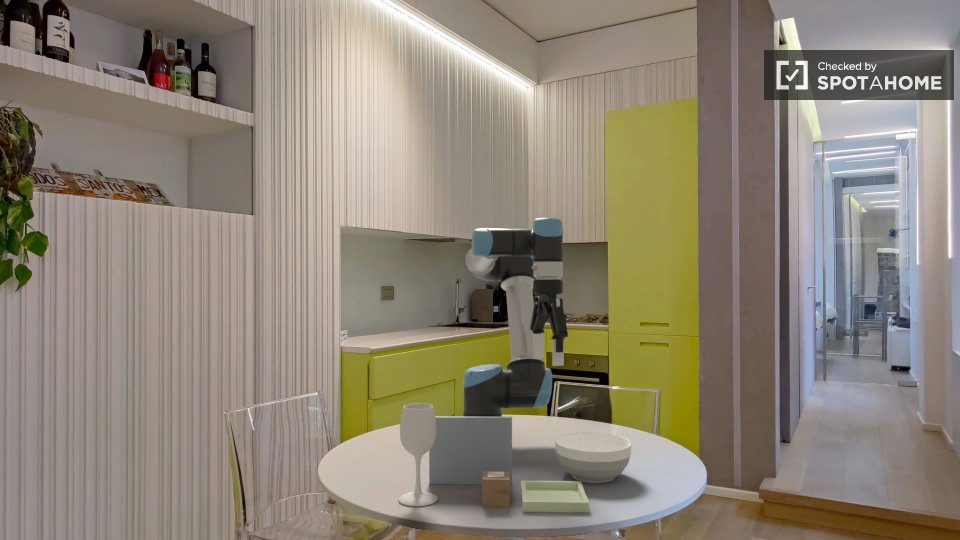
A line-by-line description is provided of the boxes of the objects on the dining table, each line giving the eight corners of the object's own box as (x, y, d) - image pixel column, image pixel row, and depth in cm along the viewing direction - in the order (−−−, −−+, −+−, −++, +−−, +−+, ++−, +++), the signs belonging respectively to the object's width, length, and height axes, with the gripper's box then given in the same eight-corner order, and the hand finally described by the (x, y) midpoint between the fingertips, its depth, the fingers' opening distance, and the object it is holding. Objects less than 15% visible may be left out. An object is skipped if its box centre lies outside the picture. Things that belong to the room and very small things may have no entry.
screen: (429, 483, 151) (429, 417, 151) (430, 481, 152) (429, 416, 153) (512, 484, 150) (511, 417, 150) (512, 482, 152) (511, 416, 152)
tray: (520, 489, 147) (520, 480, 147) (580, 490, 146) (580, 481, 146) (522, 511, 133) (522, 501, 133) (588, 512, 132) (588, 502, 132)
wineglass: (399, 493, 144) (399, 402, 144) (437, 492, 145) (437, 401, 145) (397, 507, 135) (397, 410, 136) (437, 506, 136) (437, 409, 136)
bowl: (585, 493, 144) (585, 455, 144) (540, 471, 161) (540, 437, 161) (648, 481, 153) (647, 445, 153) (599, 461, 169) (599, 429, 170)
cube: (482, 497, 142) (482, 470, 142) (509, 497, 142) (509, 470, 142) (482, 507, 136) (482, 478, 136) (509, 507, 136) (509, 478, 136)
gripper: (518, 278, 171) (518, 355, 171) (552, 279, 147) (552, 369, 147) (544, 278, 173) (544, 355, 173) (581, 279, 149) (581, 368, 148)
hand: (547, 361), depth 160 cm, fingers open, 13 cm apart
